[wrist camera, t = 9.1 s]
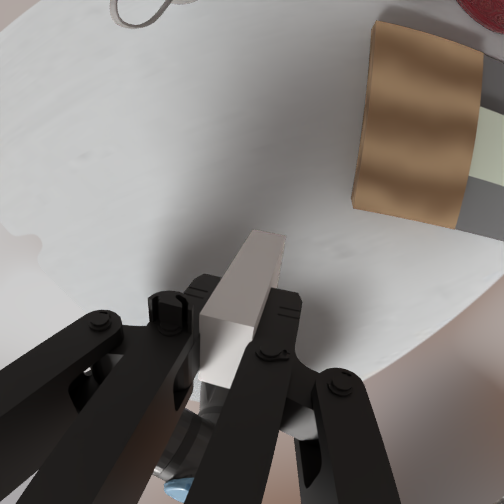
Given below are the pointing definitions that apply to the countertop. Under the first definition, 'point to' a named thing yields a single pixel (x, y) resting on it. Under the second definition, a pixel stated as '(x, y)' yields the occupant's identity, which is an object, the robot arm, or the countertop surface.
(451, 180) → the plate
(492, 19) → the canister
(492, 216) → the mat
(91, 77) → the countertop surface
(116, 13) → the glass holder
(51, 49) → the countertop surface
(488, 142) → the coaster
